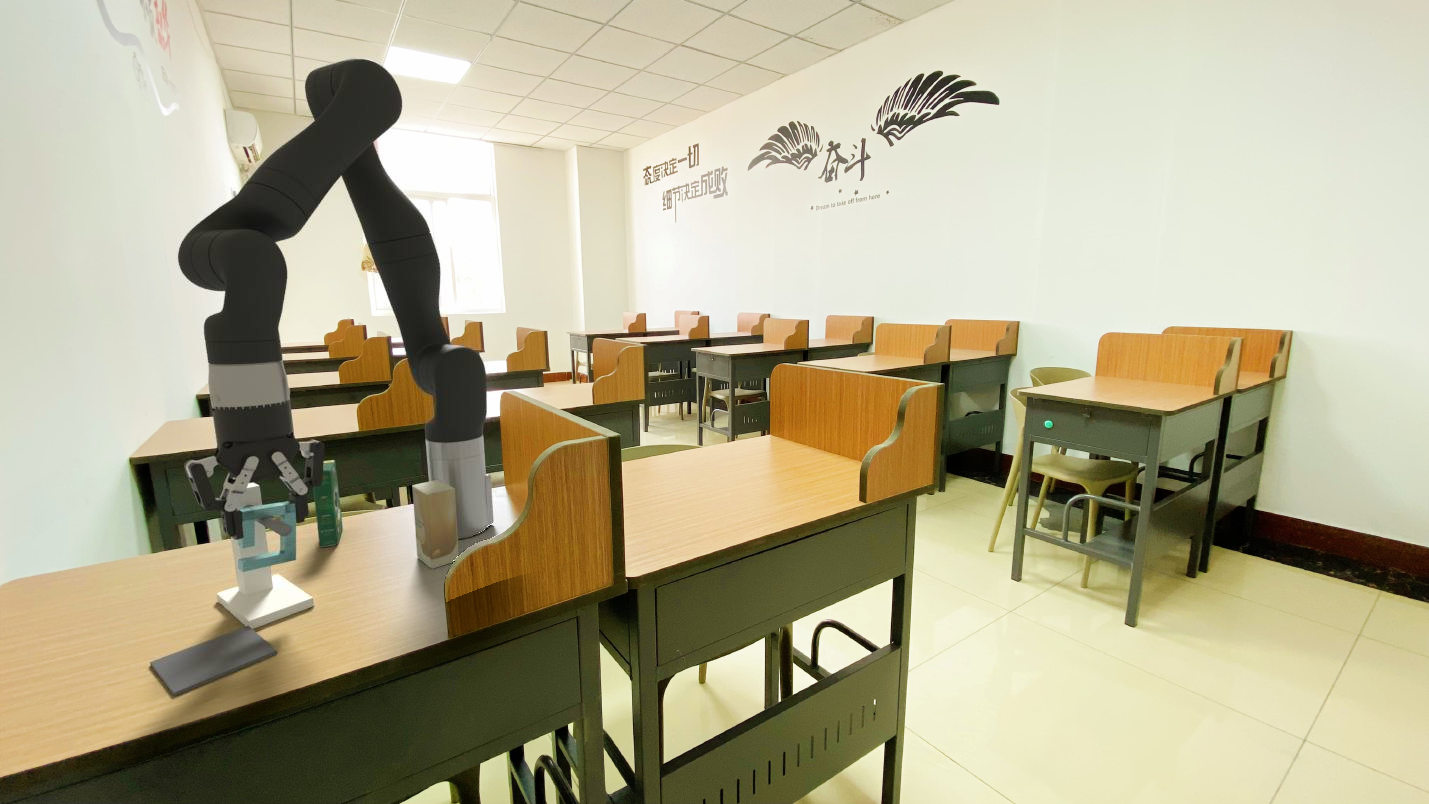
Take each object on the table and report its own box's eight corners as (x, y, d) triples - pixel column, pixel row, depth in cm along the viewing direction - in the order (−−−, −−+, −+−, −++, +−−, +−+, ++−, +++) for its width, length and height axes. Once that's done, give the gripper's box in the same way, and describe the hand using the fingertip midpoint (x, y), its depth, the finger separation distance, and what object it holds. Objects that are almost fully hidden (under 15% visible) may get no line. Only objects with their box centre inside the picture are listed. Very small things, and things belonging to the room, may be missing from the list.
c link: (291, 556, 76) (290, 500, 75) (296, 559, 75) (296, 503, 74) (238, 568, 71) (237, 508, 71) (242, 572, 70) (242, 511, 70)
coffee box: (324, 531, 102) (316, 460, 100) (343, 528, 103) (336, 458, 101) (318, 548, 95) (309, 472, 93) (338, 545, 96) (330, 469, 94)
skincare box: (416, 557, 92) (409, 484, 90) (443, 549, 95) (438, 478, 93) (432, 570, 88) (426, 493, 86) (460, 561, 91) (455, 487, 89)
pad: (248, 628, 72) (248, 625, 72) (277, 653, 67) (276, 650, 67) (150, 665, 64) (150, 661, 64) (174, 696, 59) (173, 692, 59)
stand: (278, 581, 84) (264, 476, 81) (328, 616, 75) (315, 498, 72) (217, 601, 78) (200, 488, 75) (264, 641, 69) (246, 515, 66)
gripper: (306, 389, 78) (319, 507, 81) (163, 404, 66) (185, 541, 69) (330, 394, 74) (344, 518, 77) (183, 411, 62) (205, 557, 65)
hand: (268, 528), depth 73 cm, fingers closed on c link, 6 cm apart
